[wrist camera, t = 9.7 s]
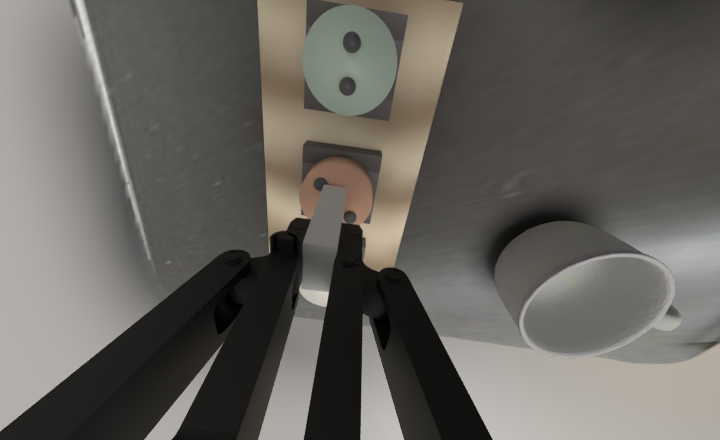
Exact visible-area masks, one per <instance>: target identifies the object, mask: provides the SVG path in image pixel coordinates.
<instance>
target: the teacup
mask: <svg viewBox="0 0 720 440" xmlns="http://www.w3.org/2000/svg"><path fill="white" fill-rule="evenodd" d="M494 278H495V284H496V288H497V291H498V293H499V295H500V297H501V299H502V301H503V303H504V305H505V307H506V309H507V310H508V312H509V314H510V315H511V317H512V319H513V320H514V322H515V323H516V325H517V327H518V329H519V332H520V334H521V336H522V338H523V339H524V341H525V342H526V343H527V344H528V345H529V346H530V347H532V348H533V349H534V350H536V351H538V352H540V353H542V354H545V355H548V356H552V357H559V358H584V357H590V356H595V355H599V354H603V353H607V352H609V351H612V350H615V349H618V348H620V347H623V346H624V345H626V344H628V343H630V342H632V341H634V340H635V339H637V338H638V337H640V336H641V335H642V334H644V333H646V332H647V331H648V330H649V329H650V328H652V327H653V328H655V329H659V330H663V331H671V330H673V329H675V328H676V327H677V326H679V324H680V323H681V322H682V316H681V314H680V313H679V312H678V310H677V309H676V308H674V307H673V306H672V305H671V303H672V300H673V298H674V295H675V281H674V277H673V275H672V273H671V271H670V270H669V269H668V267H667V266H665V265H664V264H663V263H661V262H660V261H659V260H657V259H655V258H653V257H651V256H649V255H646V254H643V253H641V252H640V251H638V250H637V249H635V248H633V247H632V246H630V245H628V244H627V243H625V242H623V241H621V240H619V239H618V238H616V237H614V236H612V235H610V234H608V233H606V232H605V231H603V230H601V229H598V228H596V227H593V226H591V225H588V224H584V223H580V222H575V221H555V222H549V223H545V224H541V225H538V226H535V227H533V228H530V229H528V230H526V231H525V232H523V233H521V234H520V235H518V236H517V237H516V238H514V239H513V240H512V241H511V242H510V243H509V244H508V245H507V246H506V247H505V248H504V250H503V251H502V253H501V254H500V256H499V258H498V260H497V263H496V266H495V273H494Z"/></svg>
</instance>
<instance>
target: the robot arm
mask: <svg viewBox="0 0 720 440" xmlns="http://www.w3.org/2000/svg"><path fill="white" fill-rule="evenodd" d="M346 191H347V188H346V187H339V186H331V185H324V186H323V188H322V191H321V194H320V197H319V199H318V202H317V205H316V208H315V210H314V213H313V216H312V219H305V218H295V219H294V220H292V221H291V222H290V224H289V226H288V228H287V230H286V231H278V232H276V233H274V234H272V235H271V236H270V254H269V255H267V256H264V257H256V258H250V255H249V253H248V252H246V251H244V250H230V251H226V252H224V253H222V254H220V255H219V256H218V257H217V258H215V259H214V260H213V261H212V262H210V263H209V264H208V265H207V266H205V267H204V268H203V269H202V270H200V271H199V272H198V273H197V274H195V275H194V276H193V277H192V278H190V279H189V280H188V281H187V282H185V283H184V284H183V285H182V286H180V287H179V288H178V289H177V290H176V291H174V292H173V293H172V294H171V295H169V296H168V297H167V298H166V299H164V300H163V301H162V302H161V303H159V304H158V305H157V306H156V307H154V308H153V309H152V310H151V311H150V312H148V313H147V314H146V315H144V316H143V317H142V318H141V319H140V320H138V321H137V322H136V323H135V324H133V325H132V326H131V327H130V328H128V329H127V330H126V331H125V332H123V333H122V334H121V335H120V336H118V337H117V338H116V339H115V340H114V341H112V342H111V343H110V344H108V345H107V346H106V347H105V348H104V349H102V350H101V351H100V352H99V353H97V354H96V355H95V356H94V357H92V358H91V359H90V360H89V361H88V362H86V363H85V364H84V365H82V366H81V367H80V368H79V369H77V370H76V371H75V372H74V373H72V374H71V375H70V376H69V377H68V378H66V379H65V380H64V381H62V382H61V383H60V384H59V385H58V386H56V387H55V388H54V389H53V390H51V391H50V392H49V393H48V394H47V395H45V396H44V397H43V398H41V399H40V400H39V401H38V402H36V403H35V404H34V405H33V406H31V407H30V408H29V409H28V410H26V411H25V412H24V413H23V414H22V415H20V416H19V417H18V418H17V419H15V420H14V421H13V422H12V423H10V424H9V425H8V426H7V427H5V428H4V429H3V430H2V431H1V432H0V440H144V439H145V438H146V437H147V435H148V434H149V433H150V432H151V430H152V429H153V428H154V427H155V426H156V424H157V423H158V422H159V421H160V419H161V418H162V417H163V416H164V414H165V413H166V412H167V411H168V410H169V408H170V407H171V406H172V405H173V403H174V402H175V401H176V400H177V399H178V397H179V396H180V395H181V394H182V392H183V391H184V390H185V389H186V387H187V386H188V385H189V384H190V383H191V381H192V380H193V379H194V378H195V376H196V375H197V374H198V373H199V372H200V370H201V369H202V368H203V367H204V365H205V364H206V363H207V361H208V360H209V359H210V358H211V357H212V356H213V354H214V353H215V352H216V350H217V349H218V348H219V347H220V346H221V344H222V343H223V342H224V343H223V345H222V347H221V349H220V351H219V353H218V355H217V357H216V359H215V361H214V362H213V364H212V366H211V368H210V371H209V372H208V374H207V376H206V378H205V380H204V382H203V384H202V386H201V388H200V390H199V392H198V394H197V395H196V397H195V399H194V401H193V403H192V405H191V407H190V409H189V411H188V413H187V415H186V417H185V419H184V421H183V423H182V425H181V427H180V429H179V430H178V432H177V434H176V435H175V436H174V438H173V439H172V440H258V437H259V434H260V430H261V427H262V423H263V420H264V416H265V413H266V410H267V406H268V403H269V399H270V396H271V392H272V389H273V386H274V382H275V378H276V375H277V372H278V368H279V365H280V361H281V358H282V354H283V351H284V347H285V344H286V341H287V337H288V334H289V330H290V327H291V323H292V320H293V316H294V313H295V309H296V306H297V302H298V299H299V289H300V285H301V289H306V290H315V291H324V292H329V295H328V301H327V307H326V312H325V318H324V324H323V330H322V336H321V342H320V348H319V354H318V360H317V365H316V371H315V377H314V383H313V389H312V395H311V400H310V406H309V412H308V418H307V424H306V430H305V436H304V440H360V427H361V372H362V369H361V368H362V317H363V314H365V315H367V316H369V320H370V324H371V327H372V330H373V334H374V337H375V341H376V344H377V348H378V351H379V354H380V357H381V361H382V365H383V368H384V372H385V375H386V379H387V382H388V385H389V389H390V392H391V396H392V399H393V403H394V406H395V409H396V413H397V416H398V420H399V423H400V427H401V430H402V434H403V437H404V440H492V438H491V436H490V434H489V432H488V430H487V429H486V426H485V424H484V422H483V420H482V419H481V417H480V415H479V413H478V411H477V409H476V407H475V405H474V403H473V401H472V399H471V397H470V395H469V394H468V392H467V390H466V388H465V386H464V384H463V382H462V380H461V378H460V377H459V374H458V373H457V371H456V369H455V367H454V365H453V363H452V361H451V359H450V357H449V355H448V353H447V351H446V349H445V348H444V346H443V344H442V342H441V340H440V338H439V336H438V334H437V332H436V330H435V328H434V326H433V325H432V323H431V321H430V319H429V317H428V315H427V313H426V311H425V309H424V307H423V305H422V303H421V302H420V300H419V298H418V296H417V294H416V292H415V290H414V288H413V286H412V284H411V282H410V280H409V278H408V277H407V275H406V274H405V273H404V272H403V271H401V270H399V269H397V268H393V267H387V268H383V269H382V270H380V272H378V271H375V270H373V269H371V268H369V267H368V266H366V265H365V264H364V262H363V260H362V240H363V237H362V236H363V230H362V228H361V227H360V225H356V224H348V223H343V216H344V208H345V200H346Z"/></svg>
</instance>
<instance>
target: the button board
mask: <svg viewBox="0 0 720 440" xmlns="http://www.w3.org/2000/svg"><path fill="white" fill-rule="evenodd" d="M257 3H258V24H259V45H260V66H261V87H262V108H263V129H264V150H265V171H266V192H267V213H268V234H269V254H270V236H271V235H272V234H274V233H276V232H278V231H286V230H287V228H288V226H289V224H290V222H291V221H292V220H294V219H295V218H305V219H308V218H307V217H306V215H305V214H304V212H303V210H302V208H301V205H300V201H299V192H300V188H301V185H302V183H303V181H304V179H305V178H306V176H307V174H308V172H309V171H310V169H311V168H312V166H313V165H314V164H316V163H317V162H318V161H320V160H322V159H324V158H327V157H331V156H343V157H348V158H350V159H353V160H355V161H356V162H358V163H359V164H361V165H362V166H363V167H364V168H365V170H366V171H367V172H368V174H369V176H370V179H371V182H372V195H373V204H372V209H371V212H370V214H369V216H368V217H367V218H366V220H365V221H364V222H363V223H362V224H360V227H361V228H362V230H363V236H362V237H363V240H362V260H363V262H364V264H365V265H366V266H368V267H369V268H371V269H373V270H375V271H378V272H380V270H382V269H383V268H387V267H393V268H394V264H395V261H396V257H397V253H398V249H399V246H400V242H401V238H402V234H403V230H404V227H405V223H406V219H407V215H408V211H409V208H410V204H411V200H412V196H413V192H414V189H415V185H416V181H417V177H418V174H419V170H420V166H421V162H422V158H423V155H424V151H425V147H426V143H427V139H428V136H429V132H430V128H431V124H432V120H433V117H434V113H435V109H436V105H437V102H438V98H439V94H440V90H441V86H442V83H443V79H444V75H445V71H446V67H447V64H448V60H449V56H450V52H451V49H452V45H453V41H454V37H455V33H456V30H457V26H458V22H459V18H460V14H461V11H462V7H463V3H460V2H454V1H448V0H257ZM341 5H357V6H360V7H364V8H366V9H368V10H370V11H372V12H373V13H375V14H376V15H377V16H378V17H379V18H380V19H381V20H382V21H383V22H384V23H385V24H386V26H387V27H388V29H389V31H390V33H391V35H392V37H393V40H394V42H395V46H396V51H397V72H396V76H395V80H394V83H393V86H392V88H391V90H390V92H389V93H388V95H387V96H386V98H385V99H384V100H383V101H382V102H381V103H380V104H379V105H378V106H377V107H376V108H374V109H373V110H371V111H369V112H367V113H364V114H361V115H356V116H346V115H341V114H337V113H335V112H332V111H330V110H329V109H327V108H326V107H324V106H323V105H322V104H321V103H320V102H319V101H318V100H317V99H316V98H315V97H314V95H313V94H312V92H311V91H310V89H309V87H308V85H307V82H306V79H305V76H304V72H303V65H302V55H303V47H304V43H305V39H306V36H307V34H308V32H309V30H310V28H311V27H312V25H313V24H314V22H315V21H316V20H317V19H318V18H319V17H320V16H321V15H322V14H323V13H325V12H326V11H328V10H330V9H332V8H334V7H337V6H341Z"/></svg>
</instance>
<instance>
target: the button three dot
mask: <svg viewBox="0 0 720 440" xmlns="http://www.w3.org/2000/svg"><path fill="white" fill-rule="evenodd" d="M324 185H331V186H339V187H346V188H347V191H346V200H345V208H344V216H343V223H348V224H356V225H360V224H362V223H363V222H364V221H365V220H366V218H367V217H368V216H369V214H370V212H371V209H372V204H373V195H372V182H371V179H370V176H369V174H368V172H367V171H366V170H365V168H364V167H363V166H362V165H361V164H359V163H358V162H356V161H355V160H353V159H350V158H348V157H343V156H331V157H327V158H324V159H322V160H320V161H318V162H317V163H316V164H314V165H313V166H312V168H311V169H310V171H309V172H308V174H307V176H306V178H305V179H304V181H303V183H302V185H301V188H300V192H299V201H300V205H301V208H302V210H303V212H304V214H305V215H306V217H307V218H308V219H312V216H313V213H314V210H315V208H316V205H317V202H318V199H319V197H320V194H321V191H322V188H323V186H324Z"/></svg>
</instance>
